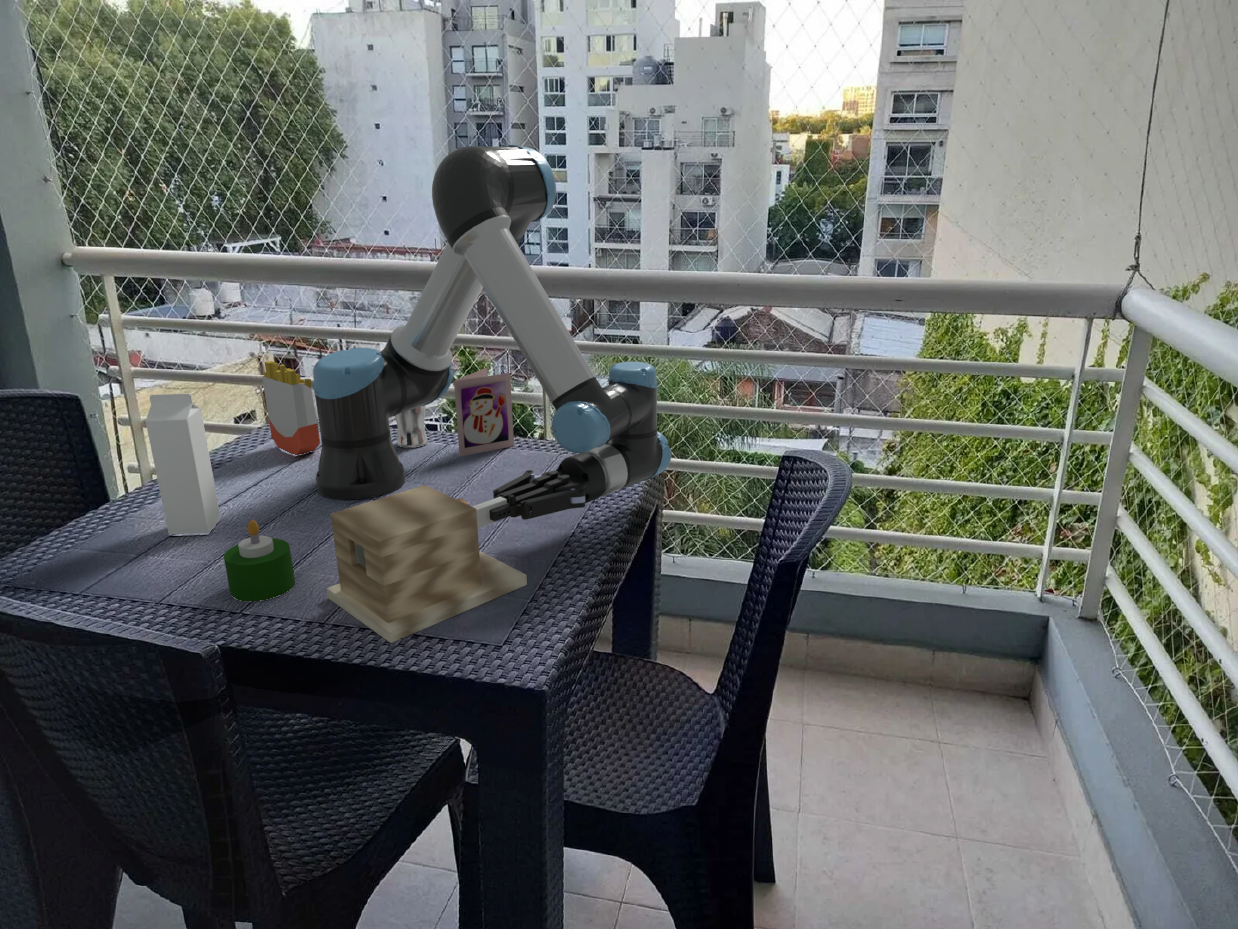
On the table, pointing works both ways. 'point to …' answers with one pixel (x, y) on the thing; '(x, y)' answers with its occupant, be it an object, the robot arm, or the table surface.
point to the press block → (414, 562)
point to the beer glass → (411, 428)
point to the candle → (259, 567)
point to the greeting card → (483, 412)
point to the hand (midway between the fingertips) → (466, 520)
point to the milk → (182, 464)
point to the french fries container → (290, 409)
